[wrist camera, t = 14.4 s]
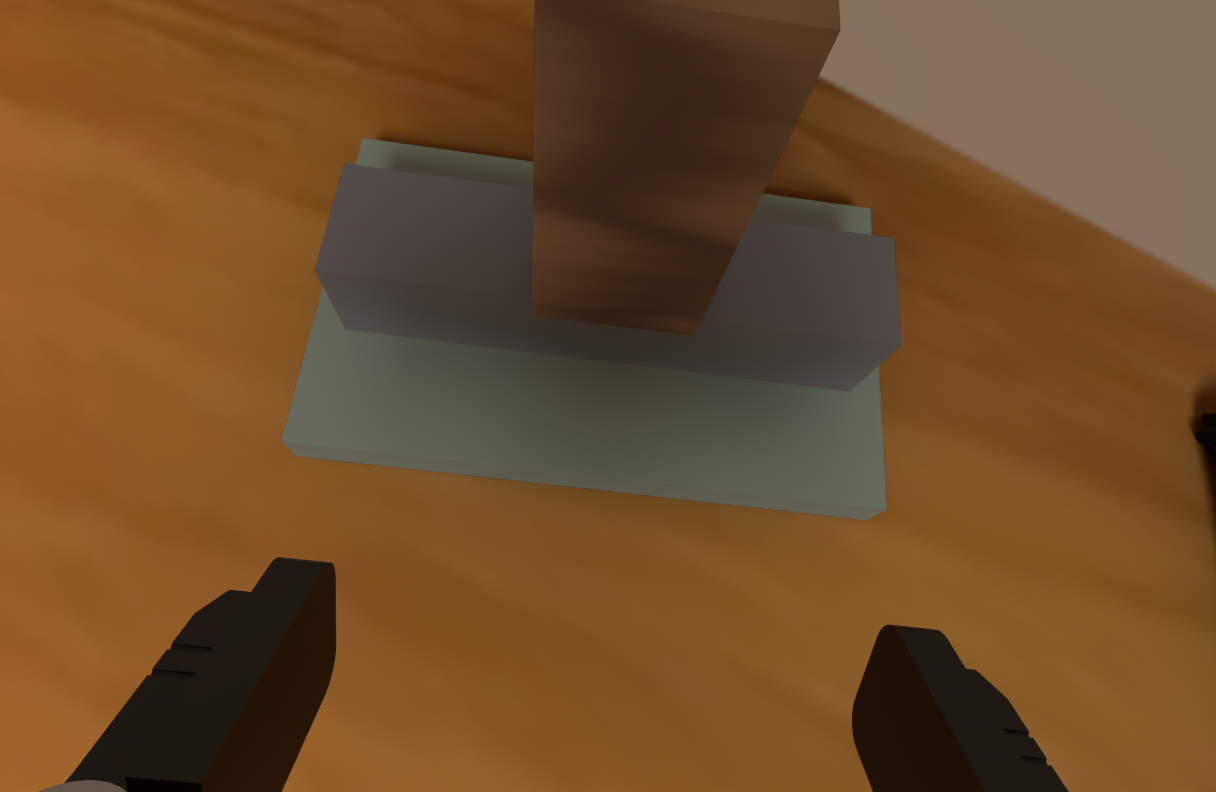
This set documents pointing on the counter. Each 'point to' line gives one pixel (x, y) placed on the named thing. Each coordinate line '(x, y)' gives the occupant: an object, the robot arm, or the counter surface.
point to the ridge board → (586, 402)
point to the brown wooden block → (659, 146)
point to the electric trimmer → (1208, 431)
